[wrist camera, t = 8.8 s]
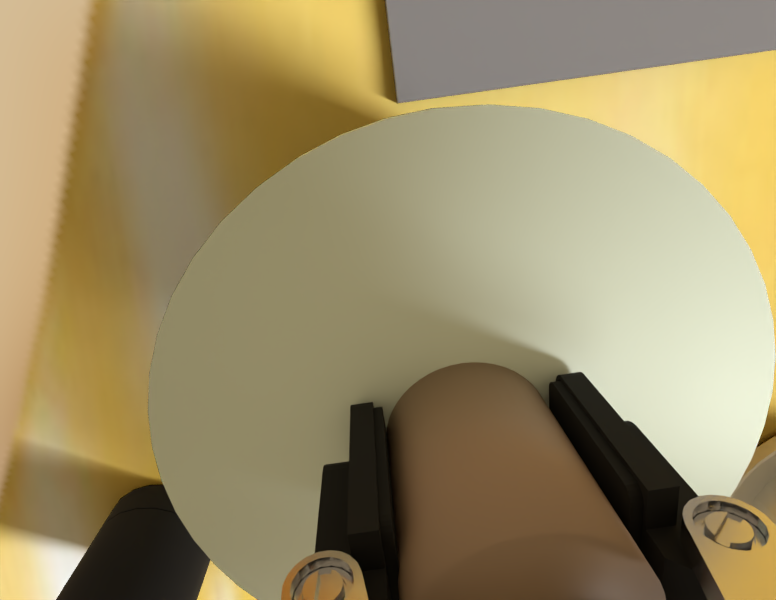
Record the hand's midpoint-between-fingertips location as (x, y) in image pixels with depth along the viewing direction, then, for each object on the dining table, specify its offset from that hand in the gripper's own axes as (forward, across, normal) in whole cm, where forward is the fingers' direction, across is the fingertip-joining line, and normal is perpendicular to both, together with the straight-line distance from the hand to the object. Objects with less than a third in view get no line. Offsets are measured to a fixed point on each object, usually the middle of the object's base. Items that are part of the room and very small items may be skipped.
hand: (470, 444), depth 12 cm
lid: (+1, 0, 0) cm, 1 cm away
